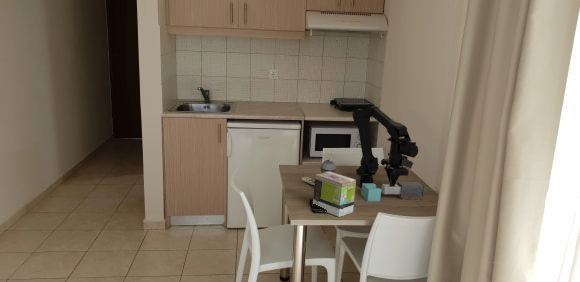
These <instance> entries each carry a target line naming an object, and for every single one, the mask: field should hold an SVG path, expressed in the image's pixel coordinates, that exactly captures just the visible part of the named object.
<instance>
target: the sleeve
mask: <svg viewBox="0 0 580 282" xmlns="http://www.w3.org/2000/svg"><path fill="white" fill-rule="evenodd" d="M396 184H399V185H401V186H402V188H401V194H396V197H397V198H399V199H400V200H404V201H406V200H407V201H410V200H413V201H414V200H417V201H418V200H419V201H420V200H422V198H423V197H424V191H425V185H424V184H422V183H421V182H420V181H396Z"/></svg>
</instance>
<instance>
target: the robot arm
mask: <svg viewBox="0 0 580 282" xmlns="http://www.w3.org/2000/svg"><path fill="white" fill-rule="evenodd" d="M351 116H352V119H353V123H354V124H355V126H356V127H357V129H358V134H359V135H358V136H359V141H360V149H361V154H362V155H361V156H362V157H361V159H360V164H359V165H360V166H359V167H358V168H357V169H356V170H355V172H356V175H357V176H358V178H357V182H356V186H358V187H359V189H362V183H374V178H373V176H375V175H376V173H377V171H378V170H379V166H380V165H381V166H382V167H383V166H385V167H383V168H384V170H385V173H386V176H387V180H388V182H389V183H388V184H390V177H391V183H392V186H394V185H395V184H397V182H398V180H399V177H400V176H406V177H407V176H409V172H410V171H409V170H408V169H412V168H413V165H414V162H413V161H412V160H410V159H408V157H410V158H412V159H413V158H416V157H417V155H418V153H419V147H418V145H417V142H416V141H412V139H411V137H410V133H409V132H408V128H407V126H406V125H404V124H402V123H401V122H398V121H395V120H393V118H391V117H389V115H387V114H386V113H385V112H383V111H382V110H381V109H380V107H378V106H373V105H372V106H368V107H365V108H356V109H354V110H353V112H352V115H351ZM371 118H373V119H375V120H376V121H377V122H378V123H380V125H382V126H383V127H384V128H385V129H386V131H387V134H388V135H389V136H390V137H388V138H387V141H388V142H390V145H389V152H387V156H388V158H382V159H381V160H380V164H379V159H378V156H377V157H375V156H374V154H373V149H372V148H373V147H372V143H371V142H372V141H371V135H370V130H369V125H370V121H371Z"/></svg>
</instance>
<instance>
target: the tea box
mask: <svg viewBox="0 0 580 282" xmlns="http://www.w3.org/2000/svg"><path fill="white" fill-rule="evenodd" d="M356 186H357V179H355V178H352V177H349V176H346V175H342V174H339V173H336V172H335V173H333V172H330V171H329V172H325V173H321V172H320V173H316V174H314V185H313V187H314V188H313V199H312V205H313V204H316V205H318V206H320V207H322V208H324V209H326V210H327V212H326V213H328V214H331V215H333V216H335V217H338V218H339V217H340V218H341V217H343V216H346V215H350V214H352V213H354V206H355V205H354V204H355V196H356Z"/></svg>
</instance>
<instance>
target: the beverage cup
mask: <svg viewBox="0 0 580 282" xmlns="http://www.w3.org/2000/svg"><path fill="white" fill-rule="evenodd" d="M332 156H333V151H331V152H330V157H329V159H327V160H324V161H323V162H321V166H320V173H325V172H329V171H330V172H333V173H336V170H337V168H336V164H335V162H334V161H332Z"/></svg>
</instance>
